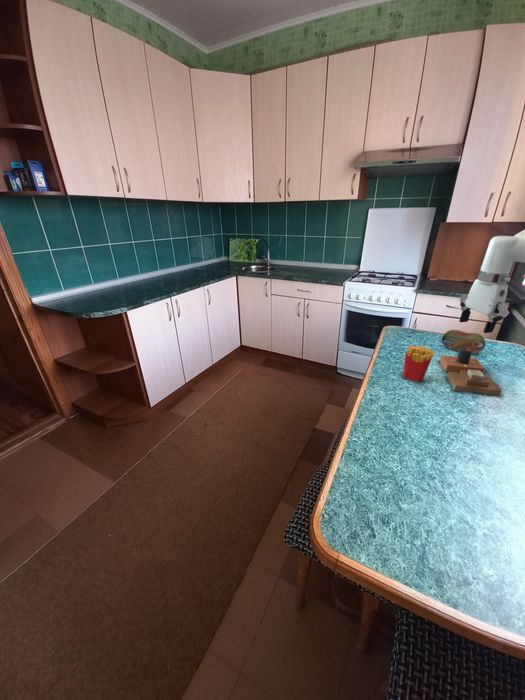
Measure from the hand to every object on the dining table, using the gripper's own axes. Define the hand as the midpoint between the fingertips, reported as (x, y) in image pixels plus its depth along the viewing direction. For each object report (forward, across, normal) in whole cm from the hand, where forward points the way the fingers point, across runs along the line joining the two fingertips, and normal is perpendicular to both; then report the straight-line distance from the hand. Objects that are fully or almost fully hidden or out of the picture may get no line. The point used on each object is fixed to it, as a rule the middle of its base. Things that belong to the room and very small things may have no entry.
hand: (474, 326), depth 100 cm
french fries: (+18, 0, +20) cm, 27 cm away
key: (+14, -10, +5) cm, 18 cm away
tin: (+18, +13, -14) cm, 26 cm away
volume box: (+18, +1, -1) cm, 18 cm away
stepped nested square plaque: (+18, -10, +5) cm, 21 cm away
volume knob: (+14, +1, -1) cm, 15 cm away
